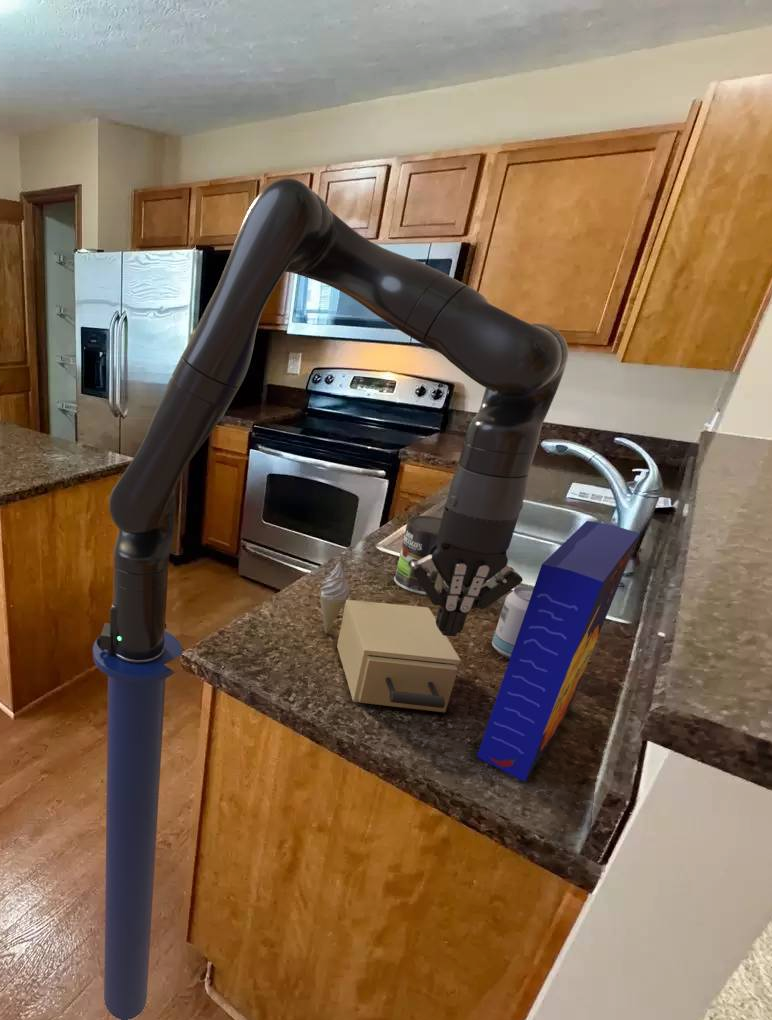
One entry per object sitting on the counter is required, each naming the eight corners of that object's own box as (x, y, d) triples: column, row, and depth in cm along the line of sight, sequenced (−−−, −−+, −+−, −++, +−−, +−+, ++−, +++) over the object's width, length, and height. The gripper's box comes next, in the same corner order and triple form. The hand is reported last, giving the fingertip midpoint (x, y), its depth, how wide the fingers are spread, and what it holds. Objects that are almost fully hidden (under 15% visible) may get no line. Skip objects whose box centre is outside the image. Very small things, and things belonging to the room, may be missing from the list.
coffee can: (409, 596, 125) (424, 534, 119) (384, 574, 134) (397, 515, 128) (455, 594, 126) (472, 533, 120) (427, 572, 135) (442, 514, 129)
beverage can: (530, 670, 102) (552, 608, 97) (485, 653, 106) (504, 594, 101) (538, 653, 106) (560, 594, 101) (495, 638, 110) (514, 580, 106)
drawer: (456, 735, 85) (470, 691, 82) (366, 724, 87) (376, 680, 84) (417, 657, 103) (428, 618, 99) (343, 649, 104) (351, 611, 101)
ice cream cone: (346, 635, 110) (361, 562, 104) (328, 643, 108) (342, 569, 102) (324, 622, 114) (337, 551, 108) (306, 630, 111) (319, 558, 105)
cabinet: (445, 712, 91) (461, 660, 87) (353, 701, 93) (364, 650, 89) (416, 654, 105) (429, 607, 101) (336, 646, 107) (346, 599, 103)
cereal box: (525, 782, 78) (603, 579, 66) (476, 757, 82) (542, 562, 70) (568, 709, 92) (640, 531, 80) (525, 691, 96) (587, 518, 84)
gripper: (528, 499, 72) (490, 622, 79) (413, 491, 74) (385, 612, 81) (559, 522, 65) (514, 655, 72) (432, 512, 67) (400, 643, 74)
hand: (446, 632), depth 76 cm, fingers closed
